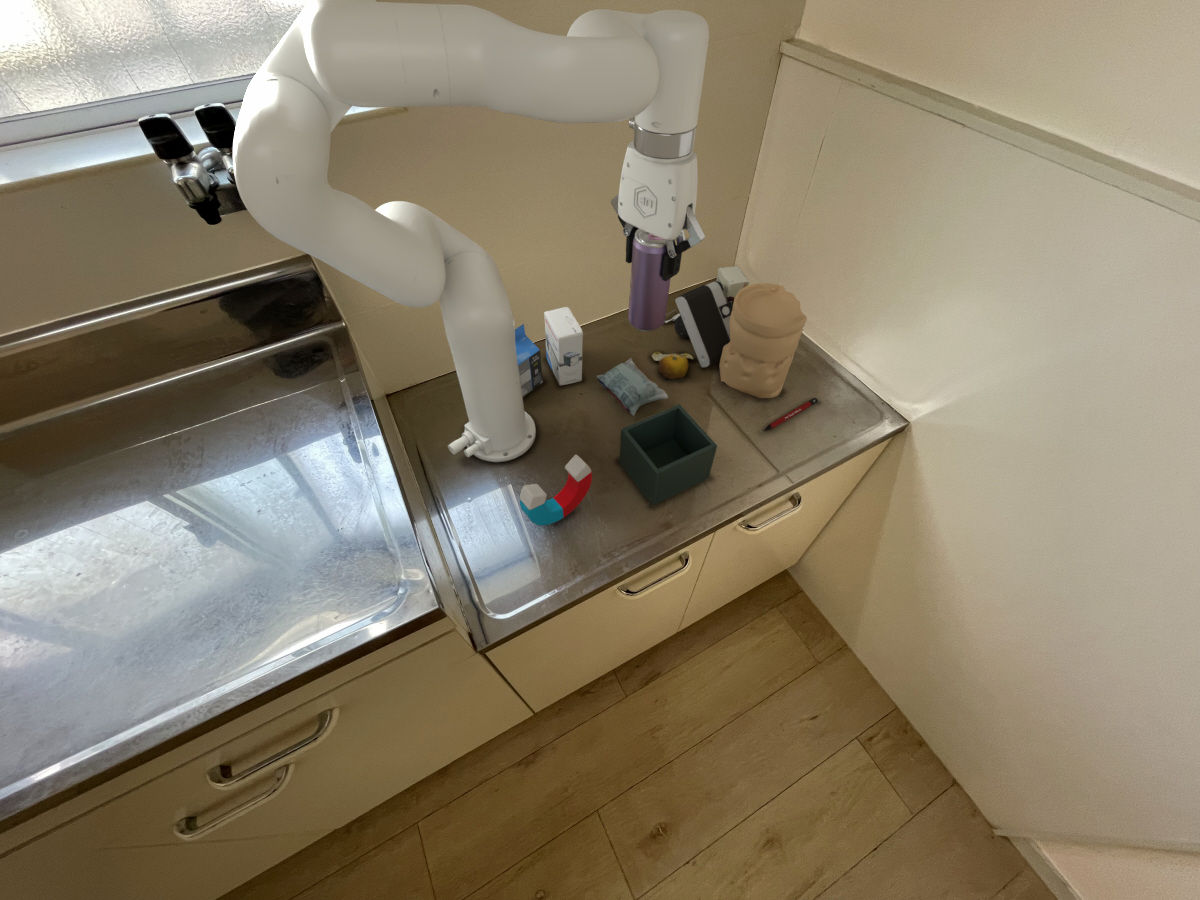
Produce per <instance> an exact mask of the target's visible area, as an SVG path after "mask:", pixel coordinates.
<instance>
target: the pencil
mask: <svg viewBox="0 0 1200 900" xmlns="http://www.w3.org/2000/svg"><path fill="white" fill-rule="evenodd" d="M818 401H819V400H818V398H817V397H813V398H812V399H810V400H808V401H806V402H805V403H803V404H801V405H799V406H797V407H796V408H794V409H793V410H790V411H789V412H787V413H786V414H784V415H782V416H780V417H778V419H775V420H774V421H772V422H770V423H769V424H768V425H767V426H766V427H765V428H764V429H763V430H762V432H766V431H770V430H774V429H775V428H776V427H778V426H779V425H782V424H783V423H785V422H787V421H788V420H790V419H791V418H793V417H795V416H797V415H798V414H800V413H802V412H804V411H805V410H807V409H808V408H810V407H812V406H814V405H815V404H817V403H818Z"/></svg>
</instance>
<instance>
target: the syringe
mask: <svg viewBox="0 0 1200 900" xmlns="http://www.w3.org/2000/svg"><path fill="white" fill-rule="evenodd" d="M677 310H678V308H676V309H674V310H672V311H670V312H668V313H666V317H667V316H668V315H669V314H671V313H673V312H674V311H677ZM680 315H681V314H680V312H678V313H677V314H675V315H673V316H672V318H670V319H668V320H665V322H664V324H668V323H669V322H671V321H672V322H675V321H676V319H677V318H678V317H679V316H680Z"/></svg>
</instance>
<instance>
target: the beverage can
mask: <svg viewBox="0 0 1200 900" xmlns="http://www.w3.org/2000/svg"><path fill="white" fill-rule="evenodd" d="M666 254H668V250H667V245H666V240H664V239H662V238H659V237H657V236H655V235H652V234H650V233H648V232H646V231H644V230H641V229H638V230H637V231H636V232H635V237H634V239H633V249H632V262H631V263H630V265H631V266H630V279H629V280H630V281H629V297H628V310H627V320H628V322H629V324H630V326H631V327H633V329H635V330H637V331H640V332H646V333H648V332H649V333H650V332H655V331H657V330H659V329H660V328H661V327H662V326H663V325H664V324H665V323H664V322H665V321H666V319H667V318H666V317H667V316H666V314H667V309H668V303H669V293H670V287H671V279H672V278H670V279H669V280H667V281H664V280H662V270H663V261H664V256H665V255H666Z"/></svg>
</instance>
